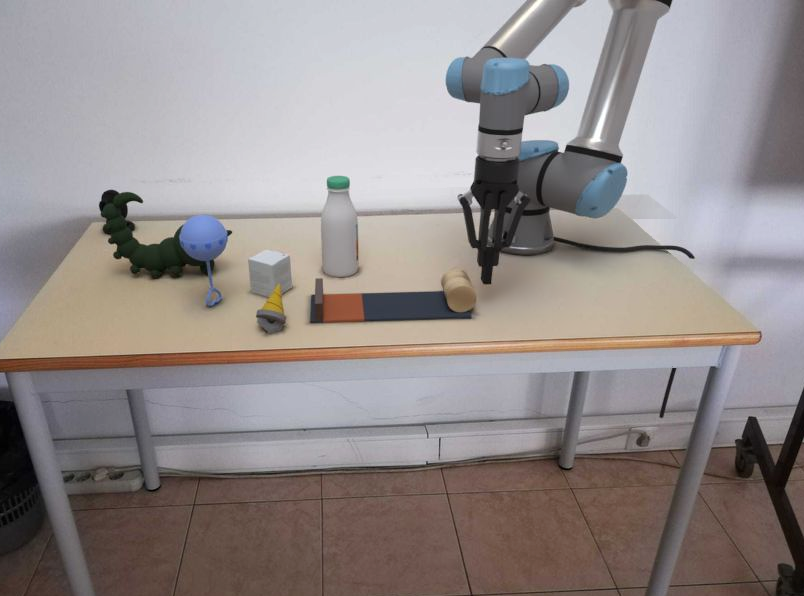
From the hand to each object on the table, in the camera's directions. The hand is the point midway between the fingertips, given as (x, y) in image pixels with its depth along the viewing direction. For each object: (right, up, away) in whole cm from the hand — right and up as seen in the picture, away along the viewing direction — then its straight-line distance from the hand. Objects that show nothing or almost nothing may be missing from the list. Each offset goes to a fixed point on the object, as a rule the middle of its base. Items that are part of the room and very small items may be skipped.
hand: (485, 281), depth 129 cm
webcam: (-84, +16, +39) cm, 94 cm away
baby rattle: (-52, -4, +3) cm, 53 cm away
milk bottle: (-28, +4, +17) cm, 33 cm away
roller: (-5, -2, +1) cm, 5 cm away
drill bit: (-40, -9, -4) cm, 41 cm away
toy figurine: (-63, +3, +16) cm, 65 cm away
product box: (-42, -1, +9) cm, 43 cm away
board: (-18, -5, +2) cm, 19 cm away
